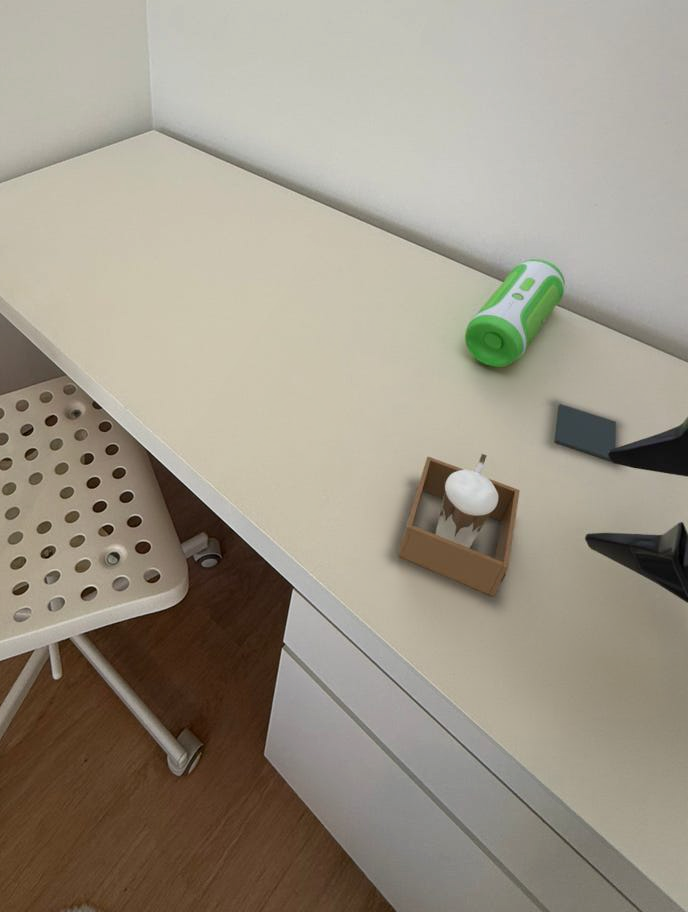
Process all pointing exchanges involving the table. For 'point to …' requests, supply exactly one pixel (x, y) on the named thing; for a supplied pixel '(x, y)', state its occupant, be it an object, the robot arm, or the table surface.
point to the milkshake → (466, 505)
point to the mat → (585, 432)
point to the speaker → (515, 313)
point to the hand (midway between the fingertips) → (599, 496)
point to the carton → (454, 556)
